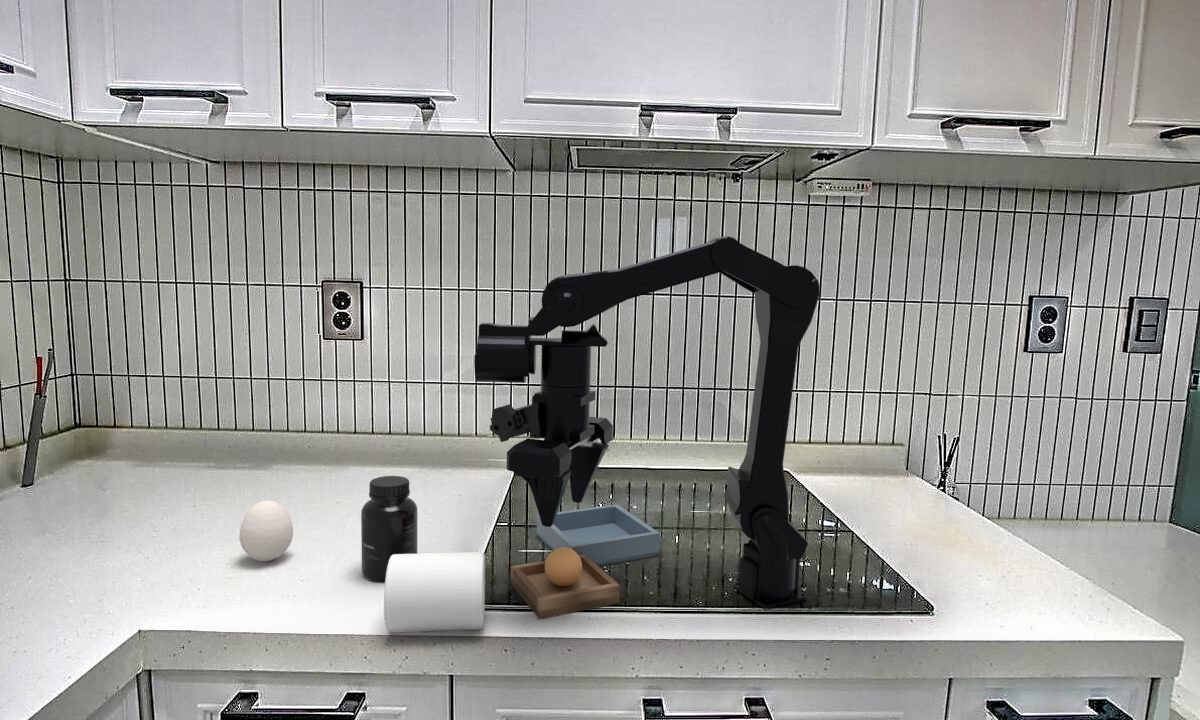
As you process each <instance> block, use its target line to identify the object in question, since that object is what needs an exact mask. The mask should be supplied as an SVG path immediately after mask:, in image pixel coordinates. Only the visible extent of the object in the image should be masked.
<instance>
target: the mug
mask: <svg viewBox="0 0 1200 720" xmlns="http://www.w3.org/2000/svg"><path fill="white" fill-rule="evenodd" d="M383 590H384V594H383V617H384V618H383V619H384V620H383V621H384V626H385V630H386V631H387V632H388V633H411V632H412V633H413V632H435V631H438V632H439V631H458V630H459V631H460V630H481V629H483V628H484V624H485V607H486V606H485V605H486V604H485V603H486V555H485V552H483V551H472V552H471V551H469V552H468V551H467V552H466V551H465V552H464V551H463V552H461V551H460V552H431V553H430V552H429V553H426V552H425V553H417V554H393V555H392V556H391V557H390V559H389V562H388V566H387V571H386V579H385V582H384V589H383Z"/></svg>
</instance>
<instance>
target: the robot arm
mask: <svg viewBox="0 0 1200 720" xmlns="http://www.w3.org/2000/svg"><path fill="white" fill-rule="evenodd" d="M716 274H721V275H723V276H725V277H726V278H727V279H729V280H731V281H732V282H734V283H735V284H737V285H739V286H740V287H741V288H743V289H745V290H747V291H749V292H751V293H752V294H754V305H755V307H754V308H755V309H754V310H755V319H756V324H757V328H758V334H759V350H758V358H757V365H756V366H757V367H756V374H755V383H754V389H753V398H752V404H751V405H752V406H751V415H750V422H749V427H748V429H749V430H748V437H747V438H748V439H747V446H746V453H745V457H744V459H743V461H742V463H741V464H740V466H739V468H736V467H732V466H728V467H727V487H726V491H725V492H724V494H723V498H724V500H725V501H726V503H727V504H728V509H729V512H730V513H731V515H732V517H733V518H734V520H735V522H736V523H737V525H738V527H739V528H740V530H741V531H742V533H744V535H745V536H746V538H748V539H749V540H748V542H745V543H743V549H742V557H740V558H739V559H740V561H739V576H738V577H739V579H738V581H737V582H734V583H733V585H732V586H733V588H734V589H735V590H736V591H738V592H739V593H740V594H742V595H744V596H745V597H747V598H748V599H750V600H751V601H752V602H754V603H755V604H757V605H758V606H760V607H762V608H763V609H773V608H775V607H781V606H785V605H788V604H794V603H797V602H802V601H806V600H807V599H808V595H807V594H806V593H805V592H803V591H802V590H800V589H799V583H800V582H799V581H800V569H801V567H800V566H801V559H803V557H804V554H805V552H806V550H807V547H808V546H809V544H808V541H807V540H806V538H805V537H803V535H802V533H800V531H798V529H797V527H795V525H793V523H792V522H791V521H790V512H789V509H790V508H789V507H790V506H789V492H788V488H787V481H786V476H785V475H786V474H785V471H784V458H785V451H786V443H787V437H788V428H789V420H790V413H791V407H792V406H791V405H792V399H793V390H794V382H795V376H796V370H797V369H796V368H797V367H796V366H797V361H798V360H797V359H798V352H799V347H800V344H801V342H802V341H803V338H804V337H805V335H806V333H807V331H808V329H809V327H810V325H811V324H812V321H813V318H814V314H815V311H816V308H817V304H818V301H819V297H820V295H821V294H820V293H821V292H820V283H819V280H818V279H817V277H816V276H815V275H814V274H813V273H812V271H810V270H809V269H808V268H806V267H805V266H800V265H796V264H795V265H790V264H789V265H787V264H786V265H784V264H782V263H780V262H779V261H777V260H775V259H773V258H771V257H769V256H767V255H765V254H762V253H760V252H758V251H756V250H754V249H752V248H750V247H747V246H746V245H745V244H742V243H741V242H740V241H739V240H737V239H736V238H734V237H733V236H729V235H725V236H720V237H715V238H713V239H710V240H709V241H707V242H706V243H702V244H698V245H696V246H692V247H688V248H685V249H682V250H679V251H674V252H671V253H668V254H664V255H660V256H657V257H655V258H650V259H648V260H645V261H640V262H637V263H633V264H630V265H627V266H624V267H620V268H615V269H610V270H607V269H606V270H599V271H598V270H597V271H589V272H581V273H573V274H572V273H571V274H564V275H559V276H557V277H555V278H554V279H552V280H550V282H548V283H547V284H546V286H545V288H544V290H543V291H542V295H541V300H540V301H541V308H540V309H539V311H538V312H537V313H536V314H535V316H531V317H530V318H528V325H518V324H517V325H516V324H515V325H514V324H512V325H510V324H508V325H507V324H497V323H494V322H493V323H492V322H482V323H480V324H479V325H478V336H477V341H476V351H475V353H474V359H473V361H474V362H473V363H474V364H473V365H474V376H475V381H476V382H478V383H516V384H517V383H518V384H520V383H521V384H526V383H527V378H529V377H530V375H536V371H537V369H536V368H537V346H541V356H540V357H541V361H540V362H541V364H540V367H541V369H540V391H537V392H535V393H534V394H533V395H532V397H531V404H527V405H524V406H521V407H517V408H514V407H513V406H512V405H511V404H505V405H503V406H497V407H495V408H493V409H492V412H491V417H490V425H489V431H491V433H494V435H496V436H497V437H498V438H499V441H500V443H503V442H506V441H509V440H510V439H511V438H512V439H513V438H515V437H518V436H523V435H526V434H529V438H526V439H524V440H521V441H520V442H518V443H516V444H514V445H513V446H512V447H511V448H510V449H509V450H508V451H507V452H506V471H508V472H512V473H513V475H515V476H516V477H520V478H522V479H523V480H524V481H525V482H526V483H527V485H529V488H530V490H531V493H532V496H533V499H534V503H535V505H536V509H537V512H538V515H539V516H540V519H541V522H542V525H543V526H546V527H551V526H552V525H553V523H554V520H555V517H556V515H557V512H559V508H560V506H561V503H562V500H563V497H564V495H565V491H566V488H567V485H568V484H569V486H570V487H569V488H570V494H571V501H572V502H573V503H578V504H579V503H582V502H583V499H584V497H585V495H586V493H587V490H588V488H589V486H590V484H591V482H592V480H593V479H594V476H595V474H596V472H597V470H598V467H599V465H600V464H601V461H602V459H603V457H604V455H605V453H606V451H607V450H608V449H609V446H610V445H609V443H610V442H611V441H613V440H614V439H613V437H614V425H613V424H612V423H611V422H610V420H609V419H608V418H607V417H597V416H590V411H591V410H590V404H591V402H593V401H595V400H596V390H591V369H592V368H591V362H592V347H597V348H601V347H607V346H608V344H609V343H608V340H607V339H606V337H605V336H603V335H602V334H601V332H600V331H599V330H598V328H597V326H596V324H594V323H593V324H591V325H590V327H589V328H587V329H586V330H564V329H563V330H561V337H554V338H553V337H552V338H551V337H549V338H548V337H547V338H546V337H543V336H545V335H547V334H549V333H550V332H552V331H553V330H555V329H556V328H558V327H561V328H562V327H563V328H571V327H576V326H579V325H580V324H583V323H584V322H586V321H588V320H590V319H592V318H595V317H596V316H598V315H601V314H603V313H604V312H606V311H608V310H610V309H611V308H614V307H615V306H617V305H619V304H621V303H624V302H626V301H629V300H630V299H635V298H637V297H641V296H644V295H648V294H651V293H655V292H658V291H661V290H664V289H668V288H672V287H674V286H679V285H681V284H686V283H688V282H692V281H694V280H699V279H702V278H706V277H708V276H711V275H716ZM539 337H541V338H539ZM599 440H600V442H599Z"/></svg>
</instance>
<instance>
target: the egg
mask: <svg viewBox="0 0 1200 720" xmlns="http://www.w3.org/2000/svg"><path fill="white" fill-rule="evenodd" d="M293 537H294V525H293V521H292V518H291V516H290V514H289V513H288V512H287V510H286V509H285V508H284V506H282V505H281V504H280V503H278V502H275V501H274V500H273V501H272V500H262V501H260V502H257V503H255V504H254V505H252V506H251V507H250V509H249V510H247V512H246V514H245V515H244V517H243V520H242V521H241V524H240V528H239V543H240V546H241V548H242V550H243V552H244V553H245V554H246V555H247V556H249V557H250V558H251V559H253V560H255V561H259V562H271V561H274V560H276V559H277V558H279V557H281V556H282V555H283V554H284V553H285V552H286V551H287V550H288V549H289V546H291V543H292V541H293Z"/></svg>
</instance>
